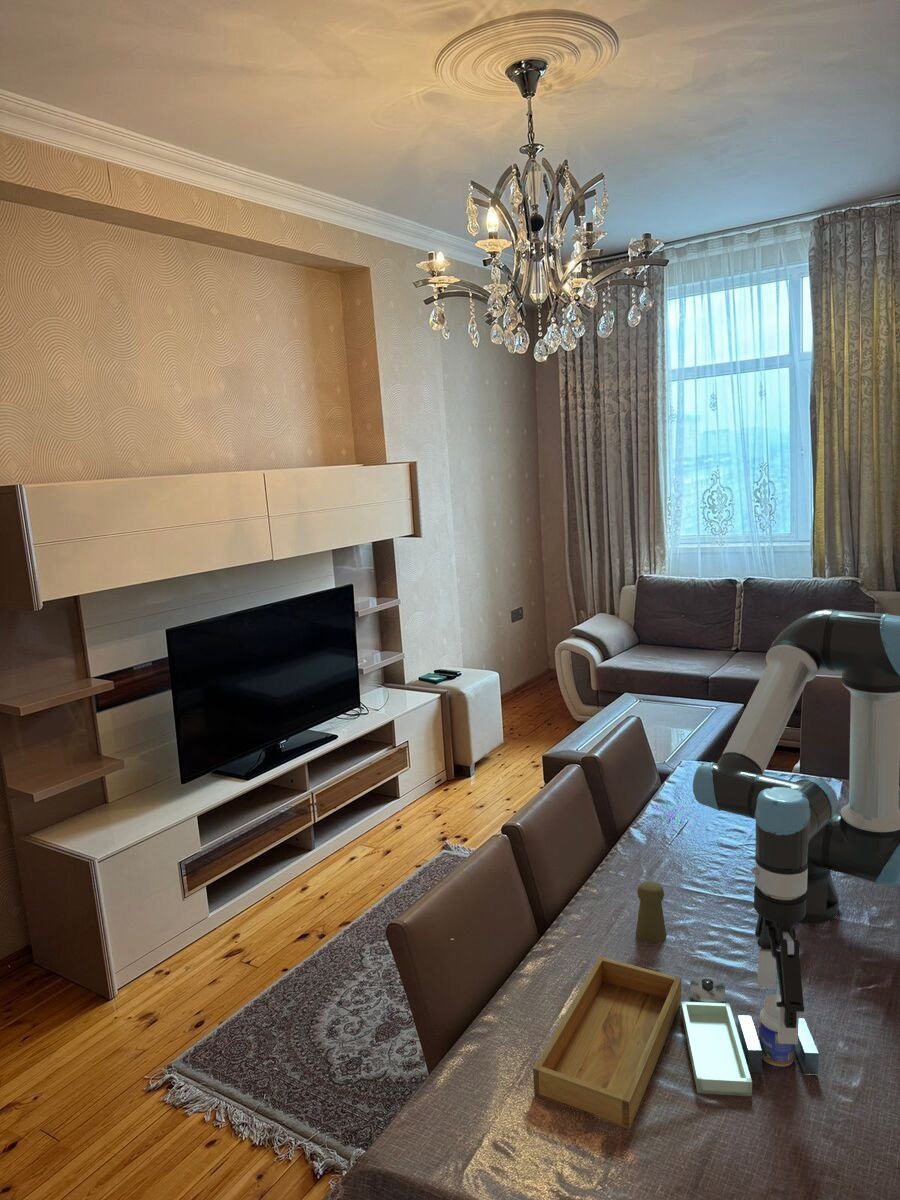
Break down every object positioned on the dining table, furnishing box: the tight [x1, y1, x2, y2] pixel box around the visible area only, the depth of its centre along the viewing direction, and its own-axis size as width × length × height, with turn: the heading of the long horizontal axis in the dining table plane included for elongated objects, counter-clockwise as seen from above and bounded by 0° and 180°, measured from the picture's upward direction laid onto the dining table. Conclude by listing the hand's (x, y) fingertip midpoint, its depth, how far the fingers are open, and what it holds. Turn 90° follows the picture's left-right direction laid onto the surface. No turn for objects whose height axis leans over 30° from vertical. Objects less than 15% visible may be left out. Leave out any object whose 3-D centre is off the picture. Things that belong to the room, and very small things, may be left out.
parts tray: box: [680, 1001, 753, 1097], centre depth 135 cm, size 8×18×2 cm, turn 172°
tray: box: [532, 956, 682, 1130], centre depth 137 cm, size 31×15×6 cm, turn 151°
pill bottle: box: [758, 993, 795, 1068], centre depth 133 cm, size 5×5×10 cm
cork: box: [635, 880, 667, 944], centre depth 167 cm, size 6×6×11 cm
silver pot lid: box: [689, 976, 726, 1003], centre depth 148 cm, size 6×6×3 cm
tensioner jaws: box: [737, 1015, 820, 1075], centre depth 133 cm, size 10×8×4 cm
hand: (776, 1013), depth 132 cm, fingers open, 13 cm apart
